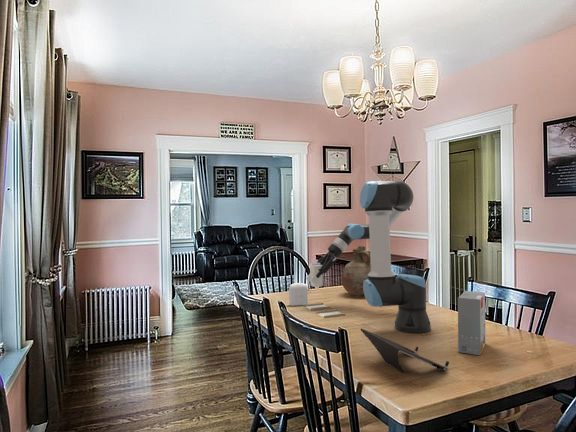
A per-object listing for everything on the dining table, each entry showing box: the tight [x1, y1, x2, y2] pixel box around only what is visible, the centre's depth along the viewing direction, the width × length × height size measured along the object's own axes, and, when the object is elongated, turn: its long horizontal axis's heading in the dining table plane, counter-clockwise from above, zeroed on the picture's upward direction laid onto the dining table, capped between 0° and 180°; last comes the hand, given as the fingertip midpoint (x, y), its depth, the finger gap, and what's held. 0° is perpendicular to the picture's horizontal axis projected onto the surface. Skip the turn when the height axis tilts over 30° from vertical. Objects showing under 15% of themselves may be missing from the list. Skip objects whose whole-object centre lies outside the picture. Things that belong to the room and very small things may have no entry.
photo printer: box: [288, 282, 309, 307], centre depth 226 cm, size 10×4×12 cm, turn 98°
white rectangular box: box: [309, 262, 324, 288], centre depth 215 cm, size 5×5×12 cm
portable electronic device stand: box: [360, 328, 450, 373], centre depth 136 cm, size 23×23×9 cm
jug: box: [340, 245, 371, 298], centre depth 248 cm, size 22×22×30 cm
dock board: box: [303, 302, 346, 319], centre depth 207 cm, size 26×12×2 cm, turn 20°
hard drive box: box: [457, 290, 486, 356], centre depth 151 cm, size 16×8×20 cm, turn 148°
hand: (310, 280), depth 213 cm, fingers closed on white rectangular box, 5 cm apart
